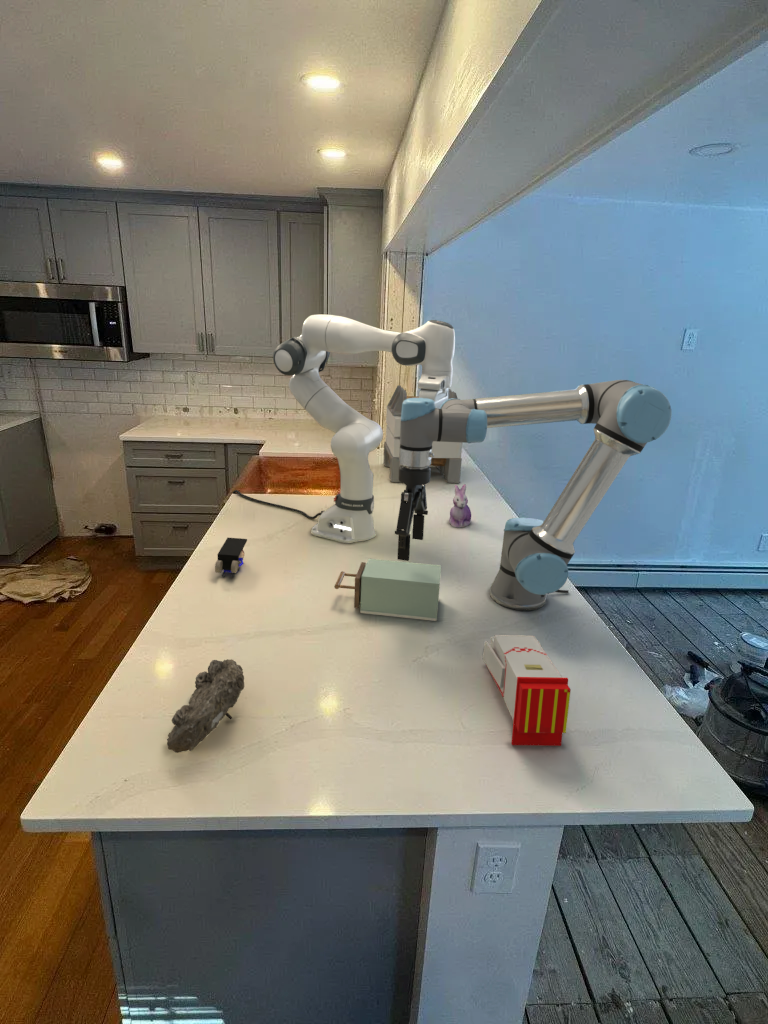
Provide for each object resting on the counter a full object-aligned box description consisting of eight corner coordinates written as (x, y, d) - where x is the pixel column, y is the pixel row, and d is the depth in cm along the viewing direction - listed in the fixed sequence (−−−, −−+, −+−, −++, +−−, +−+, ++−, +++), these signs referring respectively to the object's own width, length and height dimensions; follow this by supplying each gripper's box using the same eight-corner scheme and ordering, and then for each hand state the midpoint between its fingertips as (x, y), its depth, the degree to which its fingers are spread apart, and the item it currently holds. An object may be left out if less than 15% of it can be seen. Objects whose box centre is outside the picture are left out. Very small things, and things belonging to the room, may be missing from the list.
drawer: (333, 605, 148) (333, 576, 145) (341, 588, 158) (341, 560, 155) (424, 615, 146) (426, 585, 143) (427, 596, 155) (429, 568, 152)
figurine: (457, 529, 205) (460, 490, 200) (441, 520, 214) (444, 482, 209) (478, 526, 210) (482, 487, 205) (462, 517, 218) (465, 480, 213)
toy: (531, 618, 129) (580, 685, 100) (526, 672, 132) (572, 753, 102) (478, 617, 129) (511, 684, 99) (475, 671, 131) (505, 752, 102)
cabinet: (360, 612, 147) (361, 576, 144) (367, 592, 158) (368, 558, 154) (436, 621, 145) (439, 583, 141) (438, 600, 155) (441, 565, 152)
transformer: (382, 463, 289) (386, 382, 275) (445, 464, 293) (451, 384, 279) (390, 482, 257) (394, 392, 243) (460, 483, 261) (468, 394, 247)
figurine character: (238, 584, 162) (249, 557, 175) (236, 562, 158) (247, 536, 172) (215, 584, 161) (227, 556, 175) (212, 561, 158) (225, 535, 171)
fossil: (192, 660, 117) (244, 628, 112) (224, 691, 120) (276, 661, 115) (142, 746, 98) (202, 712, 93) (182, 779, 101) (242, 748, 96)
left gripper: (434, 375, 173) (431, 420, 178) (416, 382, 155) (413, 432, 160) (455, 377, 171) (451, 423, 176) (438, 384, 153) (434, 435, 158)
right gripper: (417, 481, 120) (412, 572, 127) (441, 455, 143) (436, 533, 150) (383, 477, 122) (380, 566, 129) (413, 452, 145) (409, 529, 152)
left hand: (432, 427), depth 168 cm, fingers open, 8 cm apart
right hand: (410, 549), depth 140 cm, fingers open, 13 cm apart
